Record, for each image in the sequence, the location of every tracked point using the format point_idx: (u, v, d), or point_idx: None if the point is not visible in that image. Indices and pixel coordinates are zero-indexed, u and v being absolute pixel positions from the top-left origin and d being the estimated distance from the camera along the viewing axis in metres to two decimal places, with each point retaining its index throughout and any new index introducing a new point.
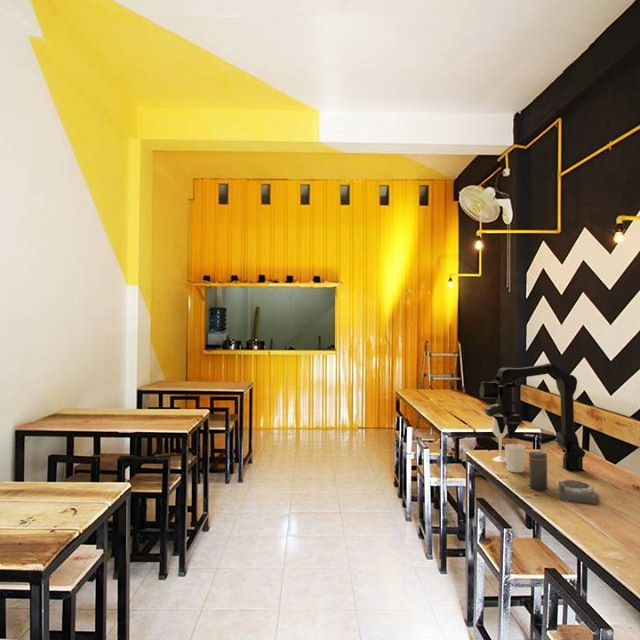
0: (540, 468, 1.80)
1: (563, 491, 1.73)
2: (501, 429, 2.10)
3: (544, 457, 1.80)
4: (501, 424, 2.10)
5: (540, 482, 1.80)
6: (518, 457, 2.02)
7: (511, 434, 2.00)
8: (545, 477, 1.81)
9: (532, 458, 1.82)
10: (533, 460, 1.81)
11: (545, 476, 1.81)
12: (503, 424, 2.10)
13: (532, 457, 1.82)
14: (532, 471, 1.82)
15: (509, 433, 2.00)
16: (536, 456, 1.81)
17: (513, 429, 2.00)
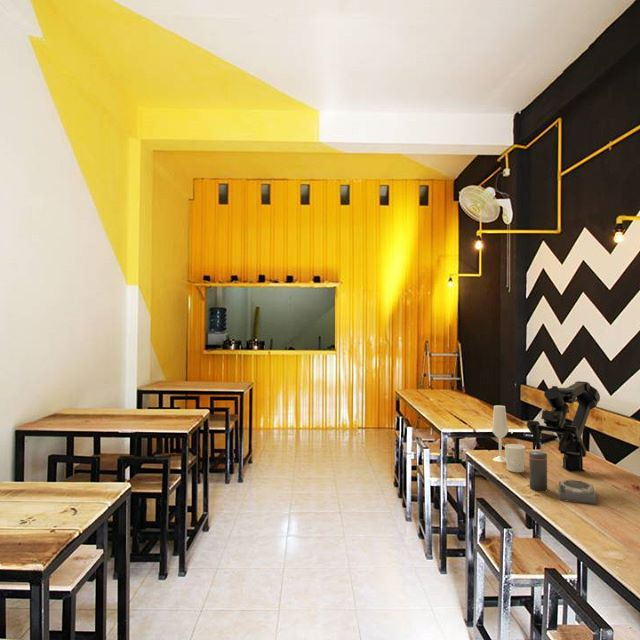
0: (540, 468, 1.80)
1: (563, 491, 1.73)
2: (536, 442, 1.93)
3: (544, 457, 1.80)
4: (537, 438, 1.94)
5: (540, 482, 1.80)
6: (518, 457, 2.02)
7: (562, 447, 1.86)
8: (545, 477, 1.81)
9: (532, 458, 1.82)
10: (534, 460, 1.81)
11: (545, 476, 1.81)
12: (538, 439, 1.94)
13: (532, 457, 1.82)
14: (532, 471, 1.82)
15: (562, 444, 1.86)
16: (536, 456, 1.81)
17: (566, 443, 1.87)
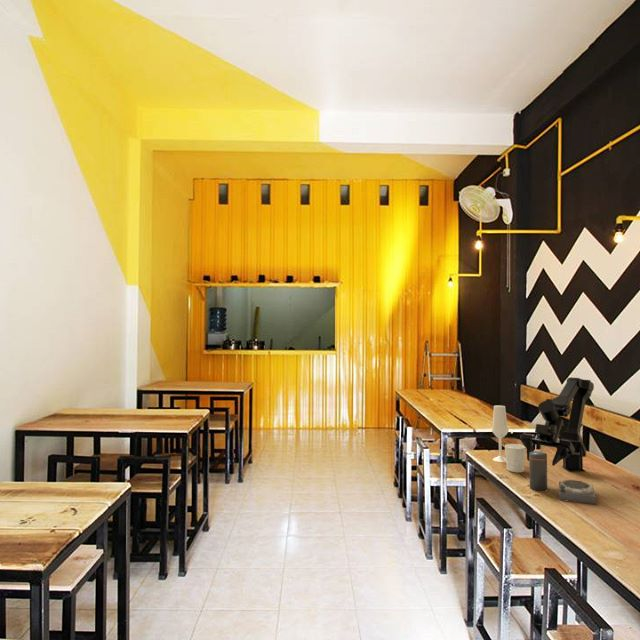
0: (540, 468, 1.80)
1: (563, 491, 1.73)
2: None
3: (544, 457, 1.80)
4: None
5: (540, 482, 1.80)
6: (518, 457, 2.02)
7: (556, 461, 1.82)
8: (545, 477, 1.81)
9: (532, 458, 1.82)
10: (534, 460, 1.81)
11: (545, 476, 1.81)
12: None
13: (532, 457, 1.82)
14: (532, 471, 1.82)
15: (556, 459, 1.81)
16: (536, 456, 1.81)
17: (560, 458, 1.82)
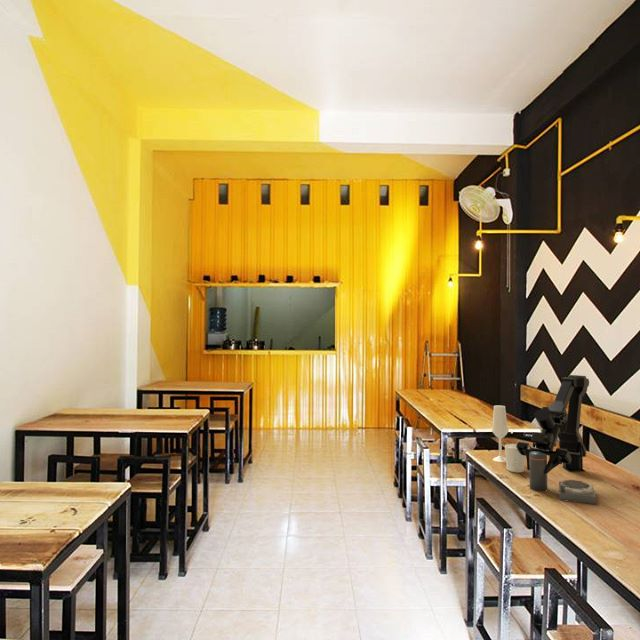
0: (540, 468, 1.80)
1: (563, 491, 1.73)
2: None
3: (544, 457, 1.80)
4: None
5: (540, 482, 1.80)
6: (518, 457, 2.02)
7: (549, 470, 1.80)
8: (545, 477, 1.81)
9: (532, 458, 1.82)
10: (533, 460, 1.81)
11: (545, 476, 1.81)
12: None
13: (532, 457, 1.82)
14: (532, 471, 1.82)
15: (548, 467, 1.80)
16: (536, 456, 1.81)
17: (552, 466, 1.81)
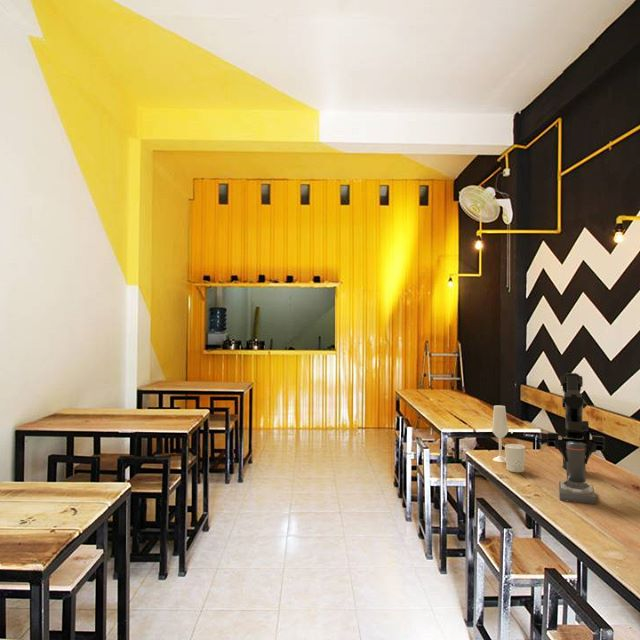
0: (582, 458, 1.72)
1: (563, 491, 1.73)
2: None
3: (584, 446, 1.73)
4: None
5: (582, 473, 1.72)
6: (518, 457, 2.02)
7: (588, 459, 1.74)
8: (585, 467, 1.73)
9: (573, 448, 1.73)
10: (575, 450, 1.72)
11: (585, 466, 1.73)
12: None
13: (573, 447, 1.73)
14: (573, 462, 1.73)
15: (588, 457, 1.73)
16: (578, 446, 1.72)
17: (589, 455, 1.75)
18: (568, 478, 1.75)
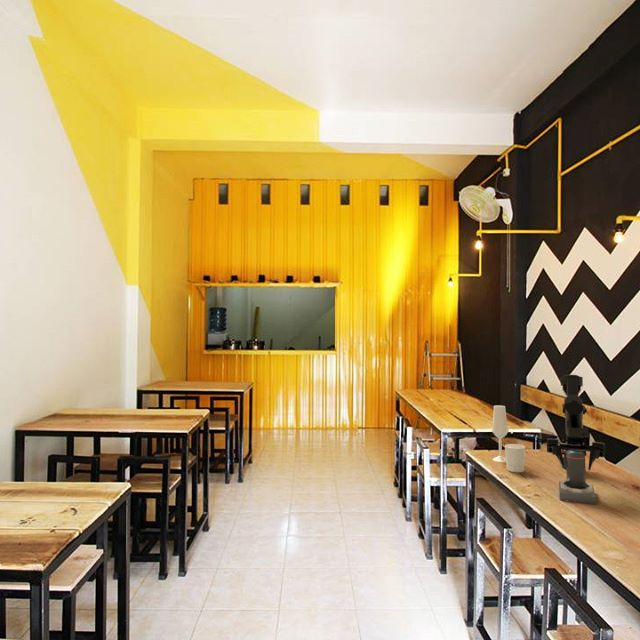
0: (582, 467, 1.72)
1: (563, 491, 1.73)
2: (563, 462, 1.77)
3: (584, 455, 1.73)
4: (562, 458, 1.78)
5: (582, 482, 1.72)
6: (518, 457, 2.02)
7: (591, 466, 1.73)
8: (585, 476, 1.73)
9: (573, 457, 1.73)
10: (575, 459, 1.72)
11: (585, 475, 1.73)
12: None
13: (573, 456, 1.73)
14: (573, 471, 1.73)
15: (591, 463, 1.73)
16: (578, 455, 1.72)
17: (592, 461, 1.75)
18: None
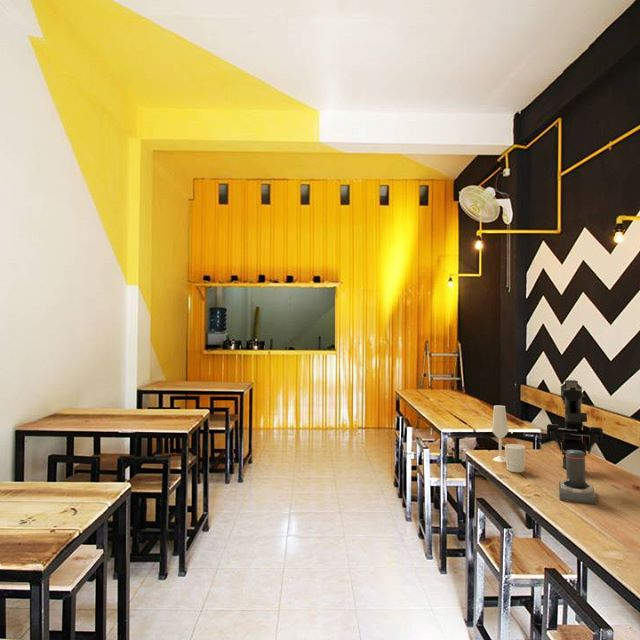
0: (581, 467, 1.72)
1: (563, 491, 1.73)
2: None
3: (584, 455, 1.73)
4: None
5: (582, 482, 1.72)
6: (518, 457, 2.02)
7: (590, 449, 1.81)
8: (585, 476, 1.73)
9: (573, 457, 1.73)
10: (575, 459, 1.72)
11: (585, 475, 1.73)
12: None
13: (573, 456, 1.73)
14: (573, 471, 1.73)
15: (591, 447, 1.81)
16: (577, 455, 1.72)
17: (592, 445, 1.83)
18: None
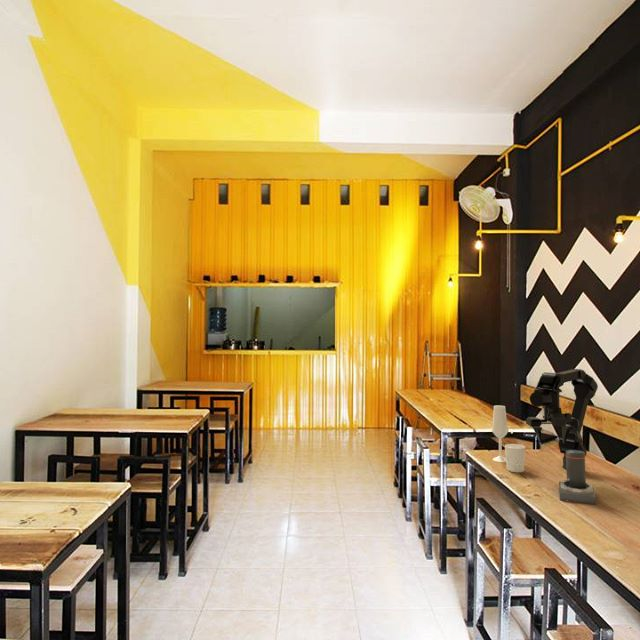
0: (582, 467, 1.72)
1: (563, 491, 1.73)
2: None
3: (584, 455, 1.73)
4: None
5: (582, 482, 1.72)
6: (518, 457, 2.02)
7: None
8: (585, 475, 1.73)
9: (573, 457, 1.73)
10: (575, 459, 1.72)
11: (585, 475, 1.73)
12: None
13: (573, 456, 1.73)
14: (573, 471, 1.73)
15: None
16: (578, 455, 1.72)
17: None
18: None
